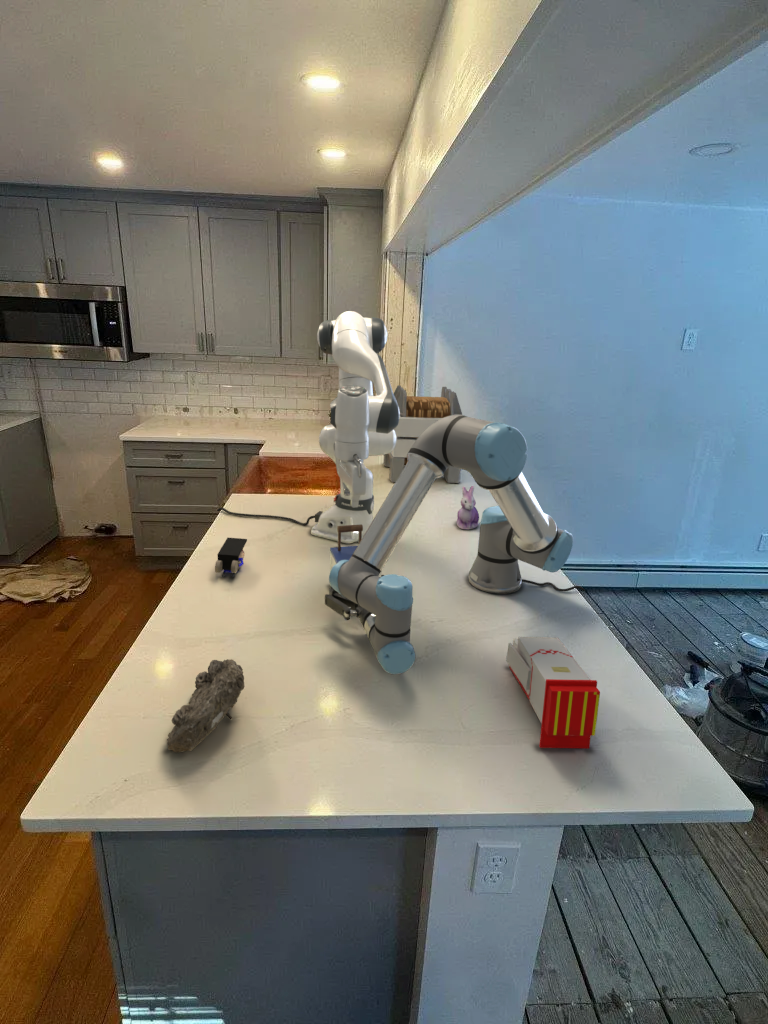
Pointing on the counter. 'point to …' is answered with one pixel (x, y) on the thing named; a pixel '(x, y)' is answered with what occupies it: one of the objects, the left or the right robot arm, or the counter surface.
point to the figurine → (468, 510)
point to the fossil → (206, 705)
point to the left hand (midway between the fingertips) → (350, 500)
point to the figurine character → (230, 556)
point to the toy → (555, 691)
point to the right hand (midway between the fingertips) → (357, 581)
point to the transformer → (419, 427)
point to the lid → (347, 551)
